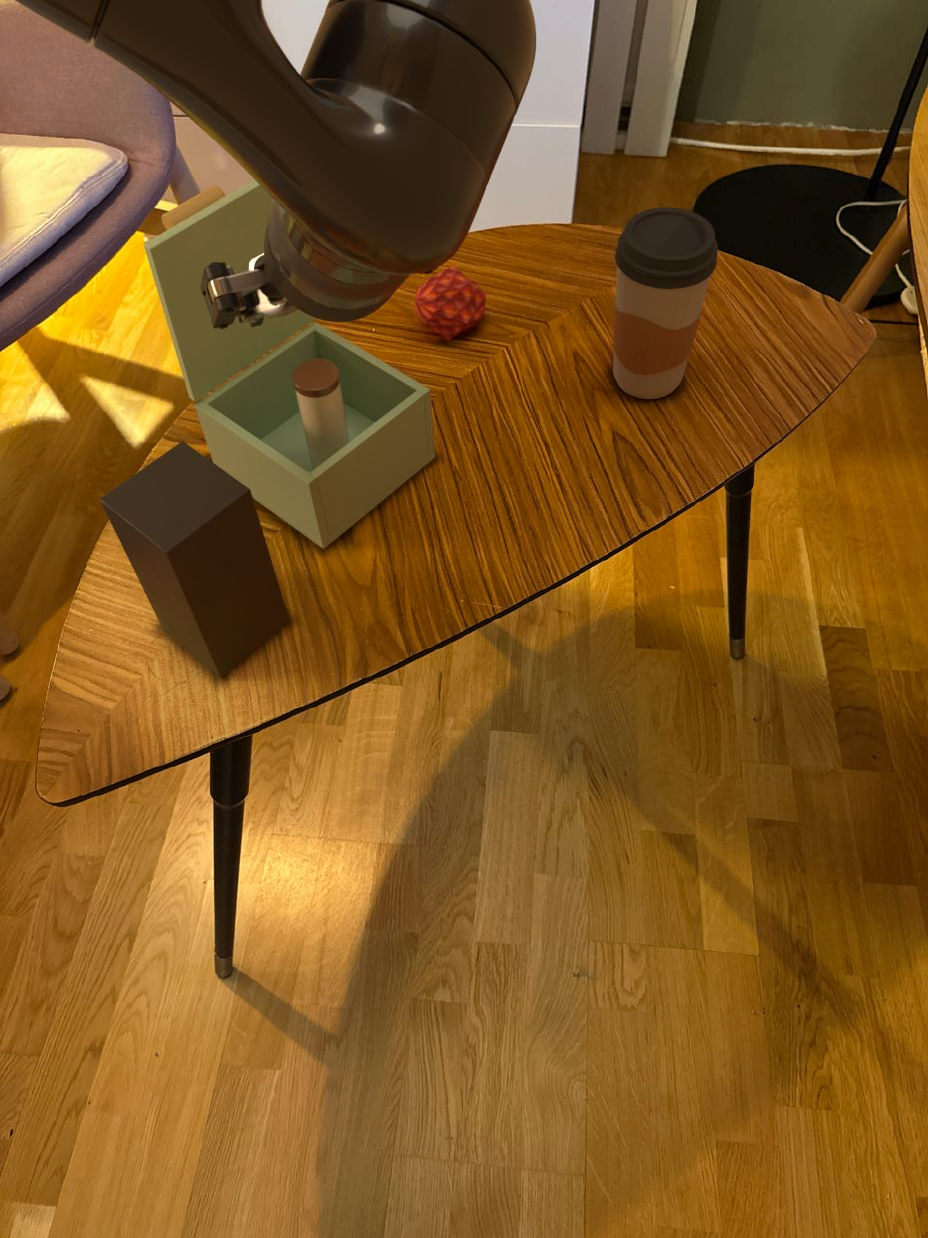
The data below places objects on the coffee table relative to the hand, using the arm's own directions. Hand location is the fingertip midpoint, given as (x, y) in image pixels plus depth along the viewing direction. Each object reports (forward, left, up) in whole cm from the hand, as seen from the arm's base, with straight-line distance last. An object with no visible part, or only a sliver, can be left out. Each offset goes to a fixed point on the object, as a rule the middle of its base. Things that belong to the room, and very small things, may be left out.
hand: (314, 293), depth 65 cm
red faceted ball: (+24, +10, -22) cm, 34 cm away
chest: (+3, +6, -22) cm, 23 cm away
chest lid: (+3, +12, -7) cm, 14 cm away
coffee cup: (+30, -9, -22) cm, 38 cm away
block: (-14, 0, -22) cm, 26 cm away
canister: (+3, +5, -21) cm, 22 cm away
